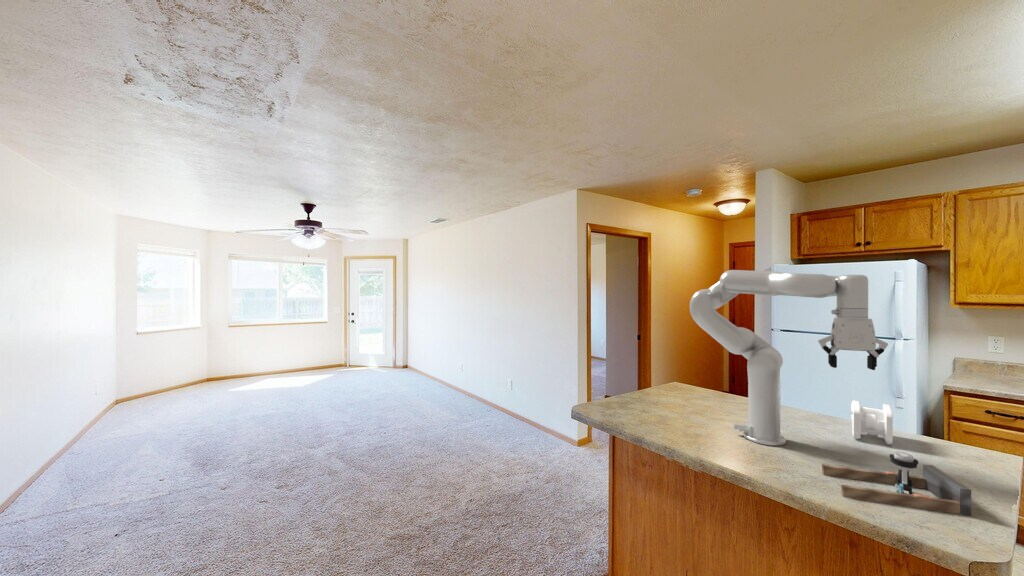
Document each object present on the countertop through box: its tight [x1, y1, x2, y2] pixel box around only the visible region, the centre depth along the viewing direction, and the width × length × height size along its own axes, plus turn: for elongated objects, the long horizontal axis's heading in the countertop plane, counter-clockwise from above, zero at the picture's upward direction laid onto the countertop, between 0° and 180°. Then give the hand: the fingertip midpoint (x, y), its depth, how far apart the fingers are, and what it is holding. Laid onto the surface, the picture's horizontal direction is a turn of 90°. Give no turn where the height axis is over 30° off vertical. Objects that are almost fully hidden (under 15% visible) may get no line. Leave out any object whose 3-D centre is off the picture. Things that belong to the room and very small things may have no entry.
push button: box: [889, 451, 919, 495], centre depth 101 cm, size 7×5×10 cm
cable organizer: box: [850, 399, 894, 446], centre depth 138 cm, size 15×11×12 cm
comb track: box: [821, 463, 972, 516], centre depth 102 cm, size 24×14×6 cm, turn 70°
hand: (852, 368), depth 122 cm, fingers open, 9 cm apart
